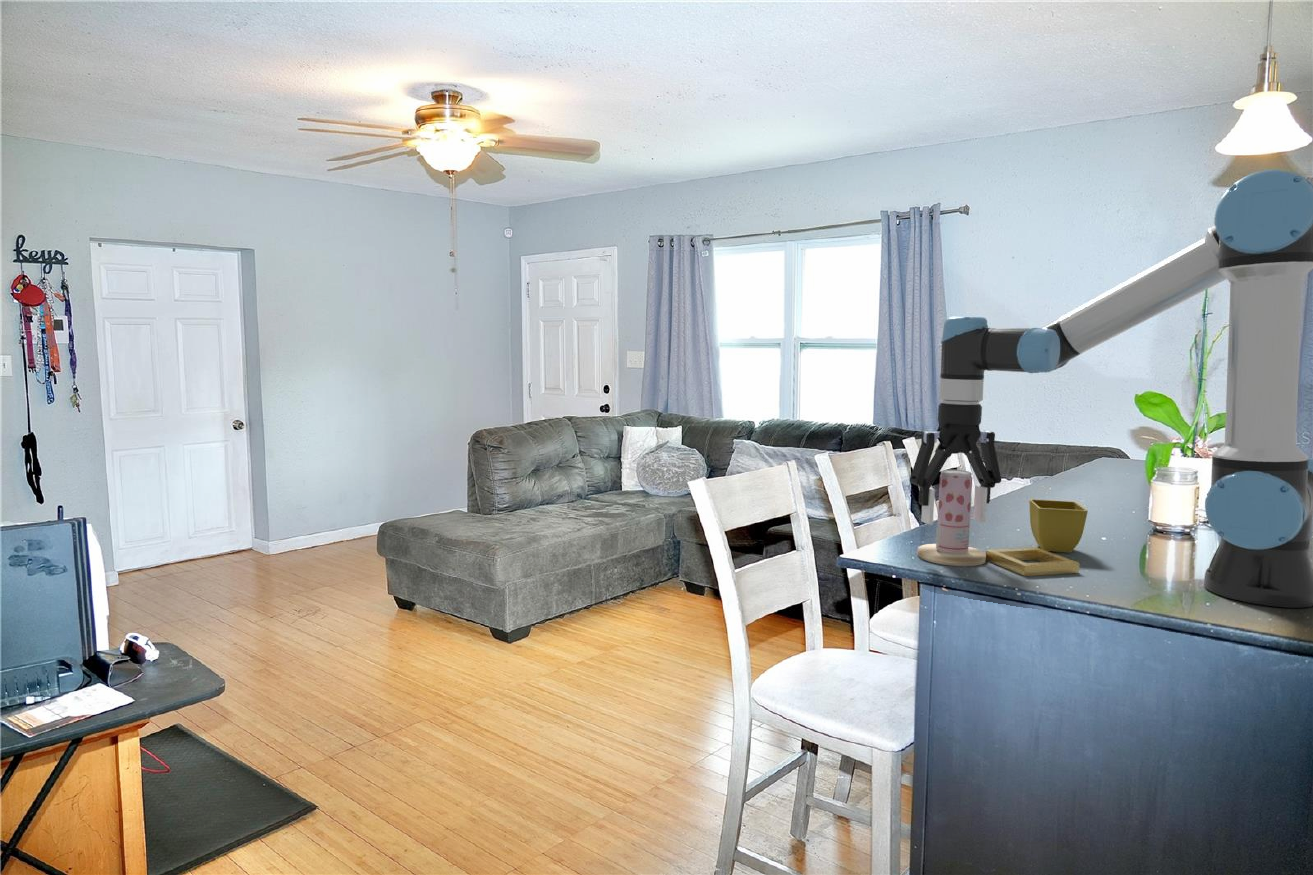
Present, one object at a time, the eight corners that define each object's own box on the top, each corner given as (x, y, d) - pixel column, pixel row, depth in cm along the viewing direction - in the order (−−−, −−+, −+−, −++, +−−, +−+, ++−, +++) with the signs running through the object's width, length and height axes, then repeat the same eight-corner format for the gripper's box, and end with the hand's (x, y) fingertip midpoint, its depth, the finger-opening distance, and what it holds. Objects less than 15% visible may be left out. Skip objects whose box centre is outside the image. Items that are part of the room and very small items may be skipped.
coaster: (999, 564, 154) (999, 558, 154) (940, 567, 151) (940, 561, 151) (960, 548, 166) (961, 542, 166) (905, 551, 163) (905, 544, 163)
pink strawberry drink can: (959, 556, 154) (964, 475, 153) (930, 550, 158) (934, 471, 157) (973, 551, 158) (978, 471, 157) (944, 545, 162) (949, 468, 161)
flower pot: (1085, 556, 161) (1088, 510, 160) (1035, 553, 163) (1039, 507, 162) (1072, 545, 170) (1075, 501, 169) (1025, 543, 171) (1028, 499, 170)
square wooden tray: (1078, 572, 150) (1079, 562, 149) (1024, 576, 147) (1024, 565, 147) (1036, 557, 160) (1037, 547, 160) (985, 559, 158) (985, 550, 157)
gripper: (1001, 400, 162) (994, 515, 164) (893, 400, 156) (887, 519, 159) (1027, 403, 154) (1019, 524, 157) (915, 404, 149) (908, 528, 151)
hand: (953, 521), depth 158 cm, fingers open, 10 cm apart
